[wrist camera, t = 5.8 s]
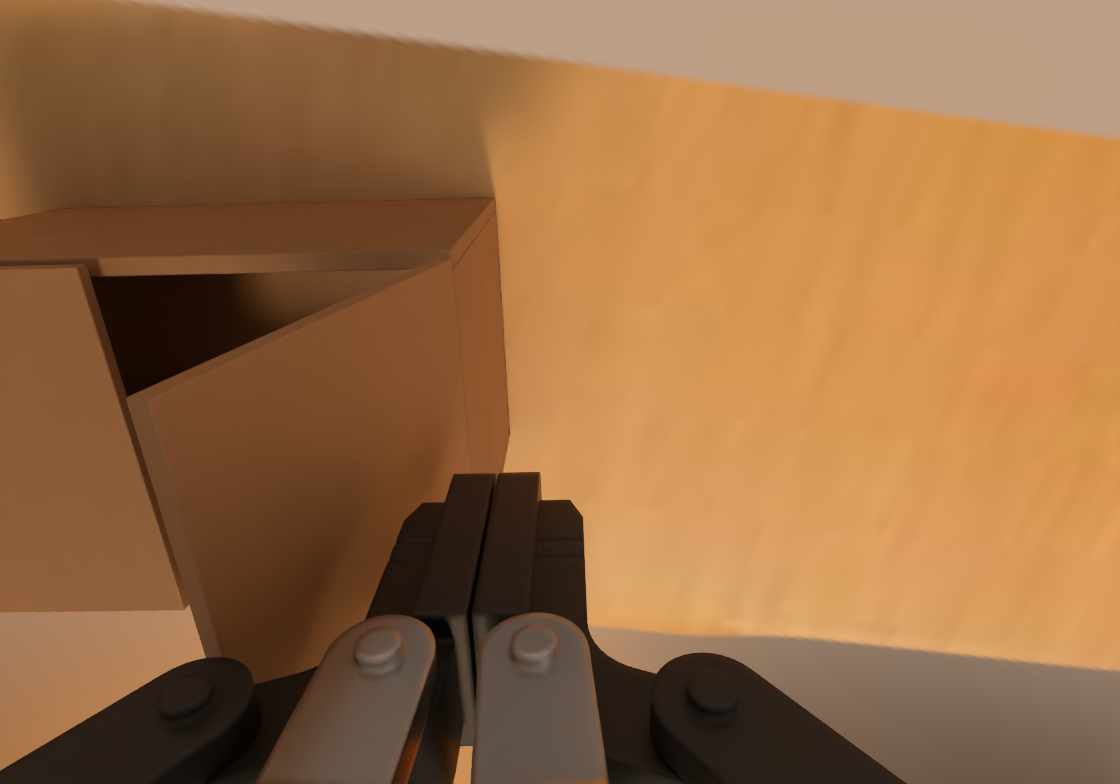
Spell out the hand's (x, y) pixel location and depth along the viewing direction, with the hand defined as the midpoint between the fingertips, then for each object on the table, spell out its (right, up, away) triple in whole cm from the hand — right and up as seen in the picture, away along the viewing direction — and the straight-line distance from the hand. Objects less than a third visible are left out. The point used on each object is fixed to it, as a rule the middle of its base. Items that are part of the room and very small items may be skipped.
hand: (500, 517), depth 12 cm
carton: (-8, +4, +11) cm, 14 cm away
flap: (-2, 0, -1) cm, 2 cm away
